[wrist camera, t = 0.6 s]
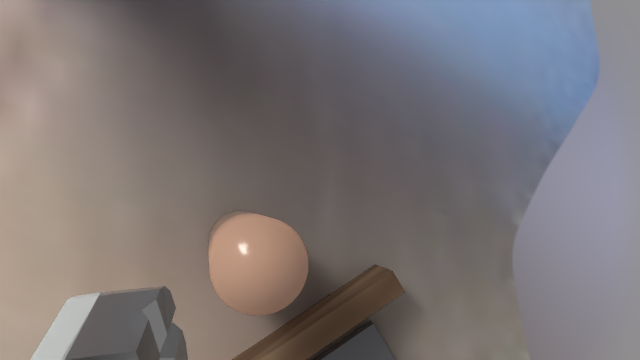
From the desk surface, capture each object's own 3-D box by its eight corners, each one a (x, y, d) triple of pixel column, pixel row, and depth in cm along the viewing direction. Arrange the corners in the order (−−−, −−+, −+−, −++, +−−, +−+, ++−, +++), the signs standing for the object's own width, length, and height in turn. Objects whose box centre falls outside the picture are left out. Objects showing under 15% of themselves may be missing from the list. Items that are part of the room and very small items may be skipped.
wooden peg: (195, 232, 50) (190, 250, 32) (251, 198, 51) (275, 197, 33) (230, 287, 50) (243, 335, 33) (285, 252, 51) (326, 280, 34)
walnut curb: (198, 382, 50) (197, 402, 45) (375, 264, 53) (392, 271, 48) (211, 401, 50) (211, 423, 45) (386, 283, 53) (405, 292, 48)
